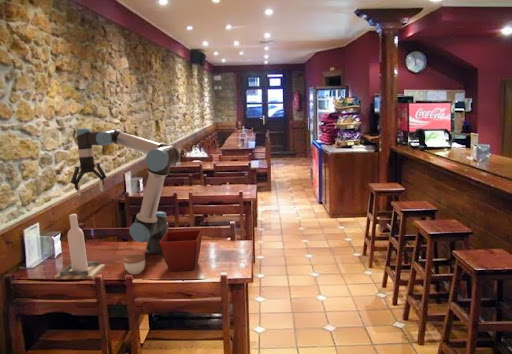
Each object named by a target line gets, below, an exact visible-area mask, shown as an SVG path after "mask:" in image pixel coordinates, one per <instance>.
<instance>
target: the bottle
mask: <svg viewBox="0 0 512 354" xmlns="http://www.w3.org/2000/svg"><path fill="white" fill-rule="evenodd" d="M68 216H69V217H68V218H69V219H68V220H69V223H70V224H69V225H70V229H69V230H68V231H67V235H66V236H67V242H68V249H69V256H70V257H69V258H70V264H71V268H72V271H86V270H87V269H88V264H87V262H88V257H87V251H86V242H85V234H84V232H83V229H82V228H80V226H79V222H78V214H76V213H72V214H69V215H68Z"/></svg>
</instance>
